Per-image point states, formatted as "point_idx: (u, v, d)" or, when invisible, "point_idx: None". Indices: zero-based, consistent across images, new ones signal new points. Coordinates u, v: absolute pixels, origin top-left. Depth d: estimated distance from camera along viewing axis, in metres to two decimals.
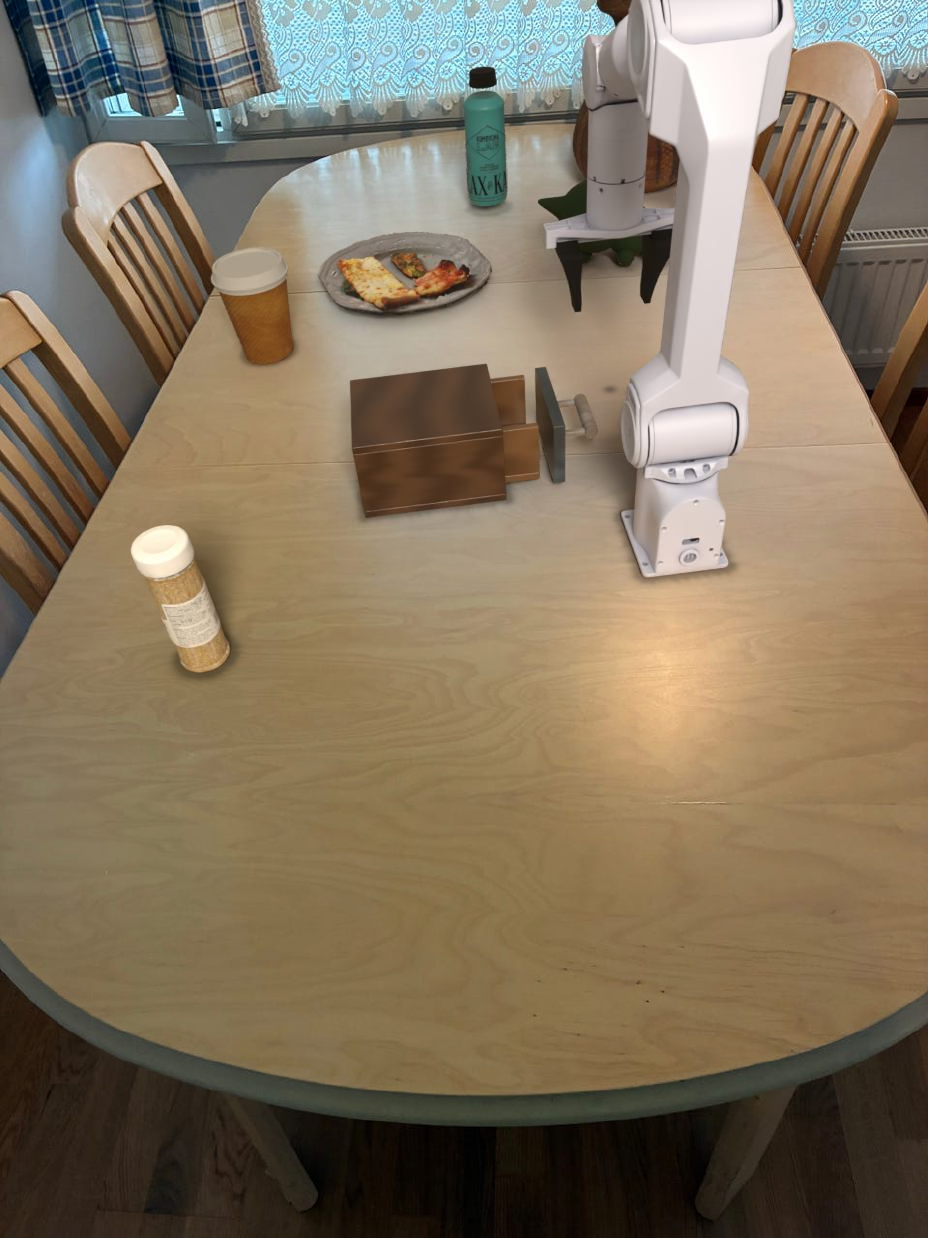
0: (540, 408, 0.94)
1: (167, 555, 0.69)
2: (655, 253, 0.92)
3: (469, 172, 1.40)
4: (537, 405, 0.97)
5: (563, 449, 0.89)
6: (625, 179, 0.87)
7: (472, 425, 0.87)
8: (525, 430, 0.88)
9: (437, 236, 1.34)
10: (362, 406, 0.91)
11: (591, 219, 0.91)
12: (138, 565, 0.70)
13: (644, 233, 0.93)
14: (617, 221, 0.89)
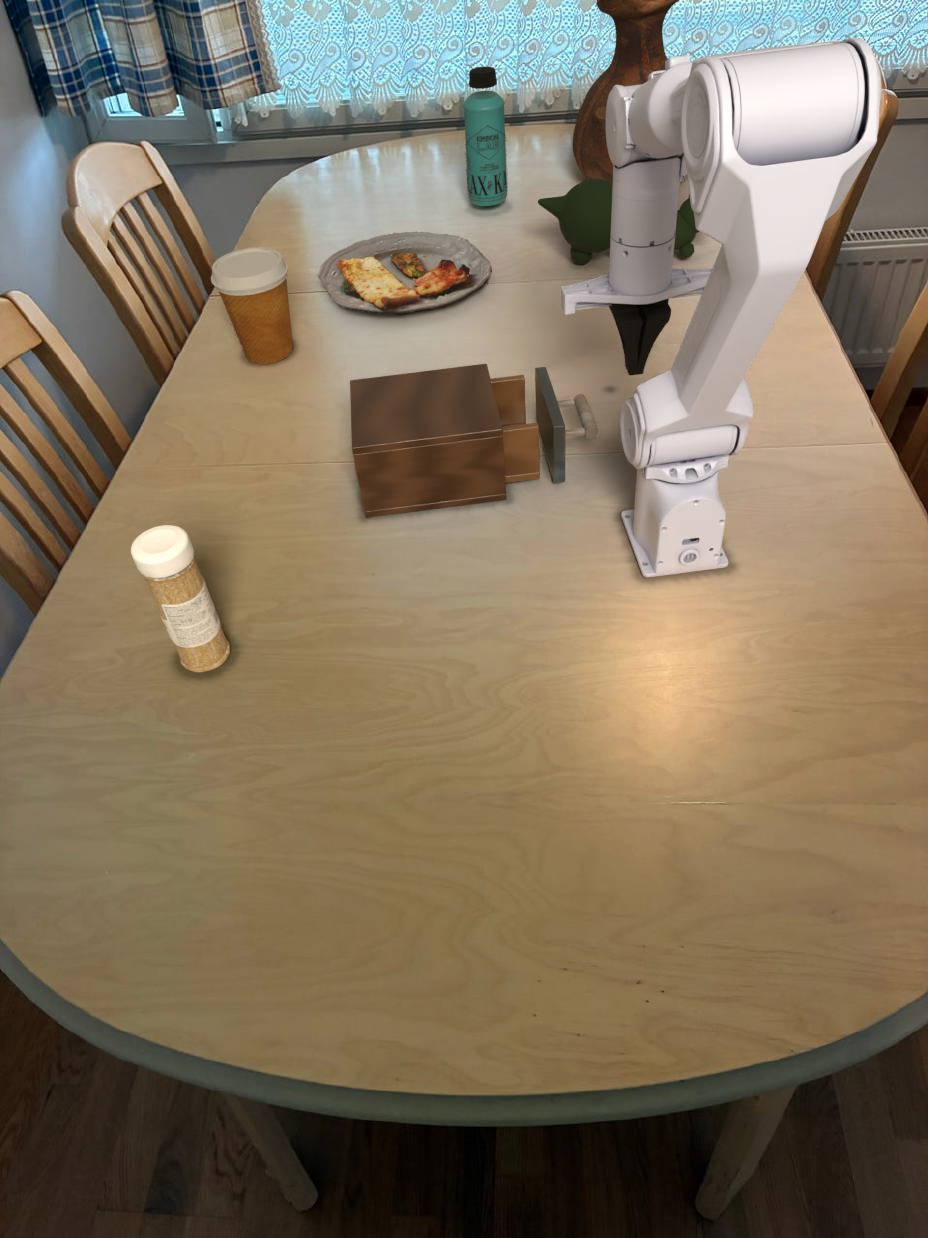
0: (540, 408, 0.94)
1: (167, 555, 0.69)
2: (648, 323, 0.84)
3: (469, 172, 1.40)
4: (537, 405, 0.97)
5: (563, 449, 0.89)
6: (654, 241, 0.78)
7: (472, 425, 0.87)
8: (525, 430, 0.88)
9: (437, 236, 1.34)
10: (362, 406, 0.91)
11: (614, 283, 0.82)
12: (138, 565, 0.70)
13: (672, 296, 0.84)
14: (644, 286, 0.81)
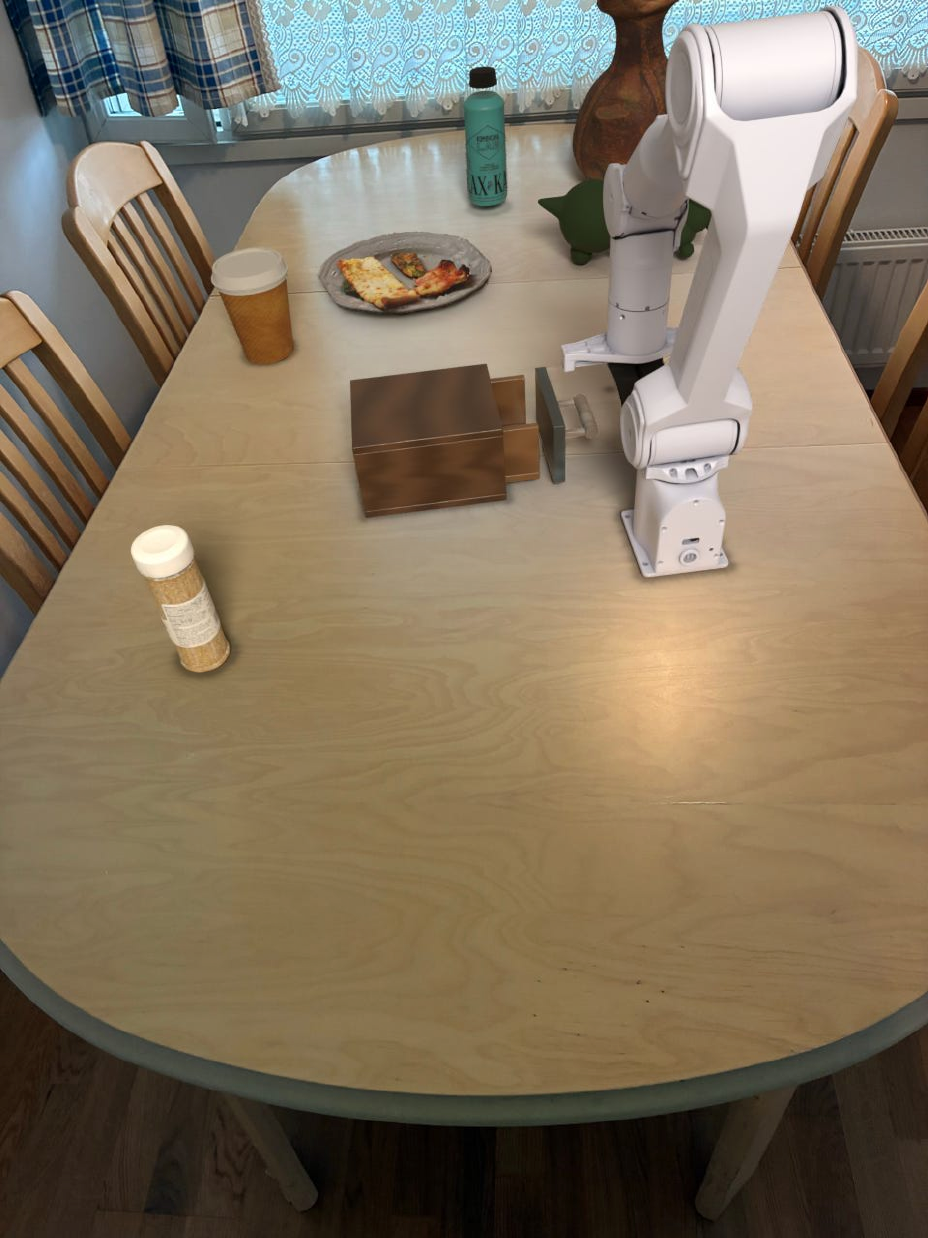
0: (540, 408, 0.94)
1: (167, 555, 0.69)
2: None
3: (469, 172, 1.40)
4: (537, 405, 0.97)
5: (563, 449, 0.89)
6: (649, 306, 0.82)
7: (472, 425, 0.87)
8: (525, 430, 0.88)
9: (437, 236, 1.34)
10: (362, 406, 0.91)
11: (612, 343, 0.86)
12: (138, 565, 0.70)
13: None
14: (640, 347, 0.85)
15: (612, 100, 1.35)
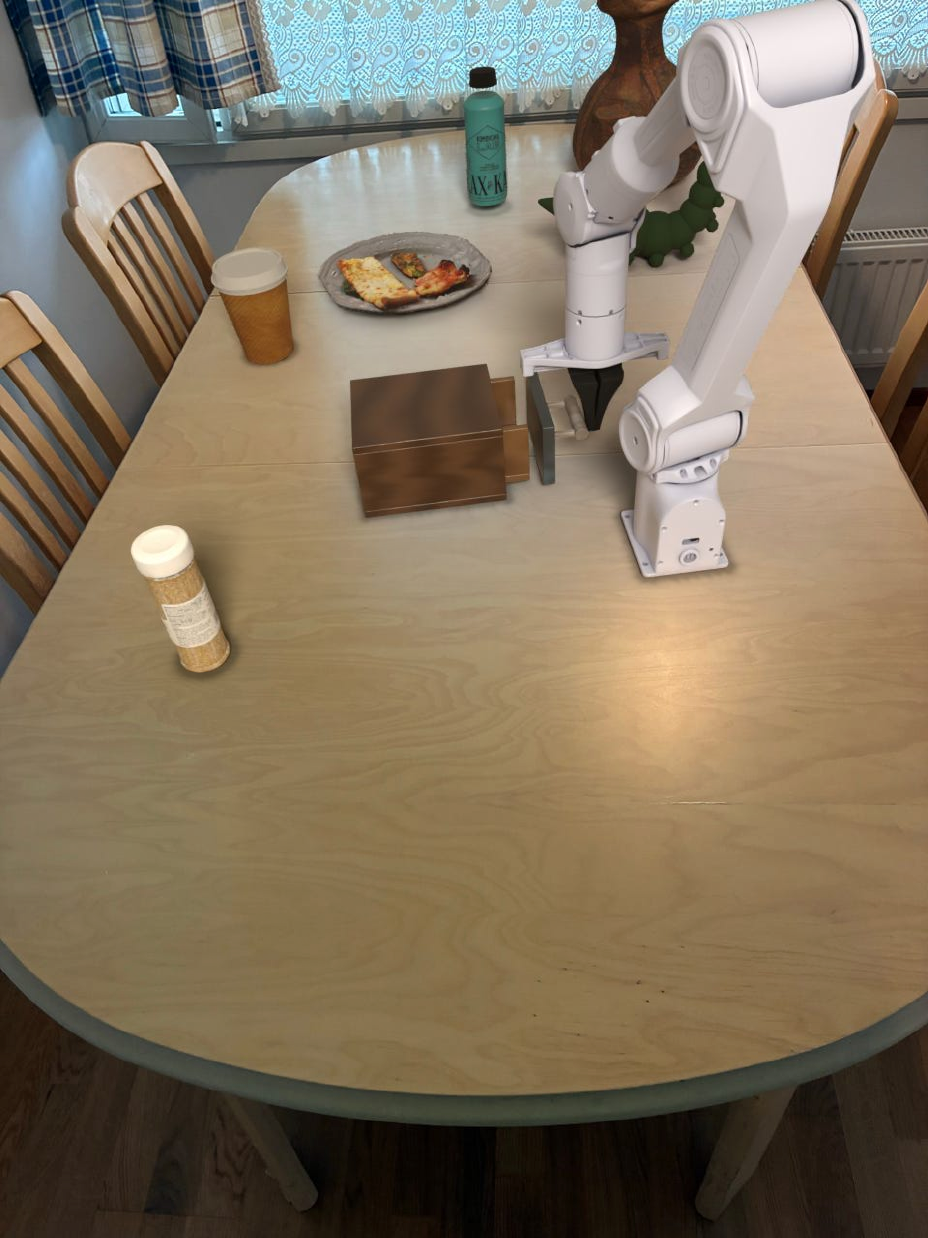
0: (530, 409, 0.94)
1: (167, 555, 0.69)
2: (602, 386, 0.88)
3: (469, 172, 1.40)
4: (527, 406, 0.97)
5: (552, 451, 0.89)
6: (613, 310, 0.82)
7: (472, 425, 0.87)
8: (514, 431, 0.88)
9: (437, 236, 1.34)
10: (362, 406, 0.91)
11: (570, 348, 0.86)
12: (138, 565, 0.70)
13: None
14: (597, 352, 0.85)
15: (612, 100, 1.35)
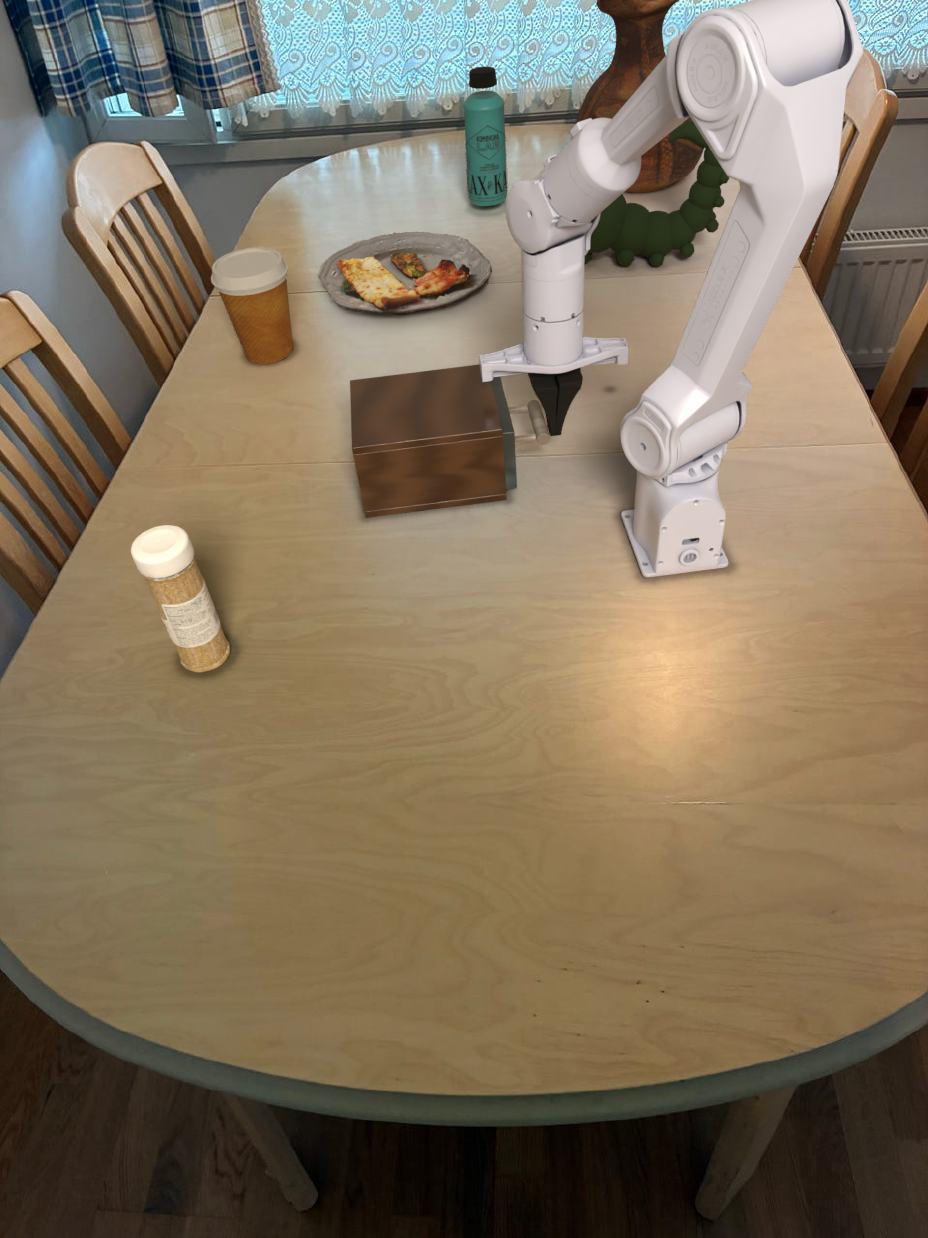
0: None
1: (167, 555, 0.69)
2: (560, 391, 0.88)
3: (469, 172, 1.40)
4: None
5: (513, 455, 0.89)
6: (574, 313, 0.82)
7: (472, 425, 0.87)
8: None
9: (437, 236, 1.34)
10: (362, 406, 0.91)
11: (528, 353, 0.86)
12: (138, 565, 0.70)
13: (585, 364, 0.89)
14: (555, 357, 0.85)
15: (612, 100, 1.35)
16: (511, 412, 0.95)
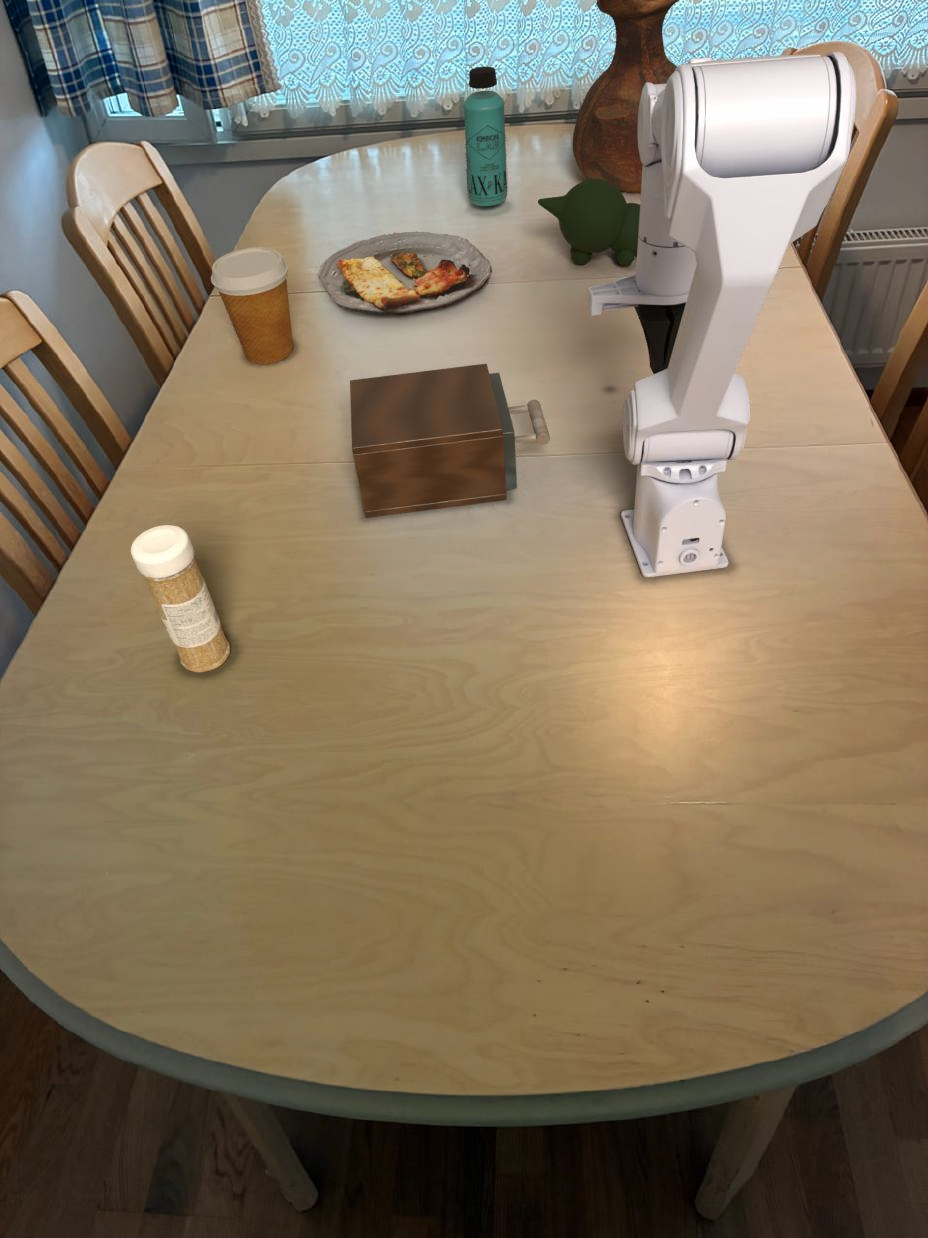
0: None
1: (167, 555, 0.69)
2: (675, 324, 0.83)
3: (469, 172, 1.40)
4: None
5: (513, 455, 0.89)
6: (678, 242, 0.78)
7: (472, 425, 0.87)
8: None
9: (437, 236, 1.34)
10: (362, 406, 0.91)
11: (642, 283, 0.82)
12: (138, 565, 0.70)
13: None
14: (672, 287, 0.80)
15: (612, 100, 1.35)
16: (511, 412, 0.95)
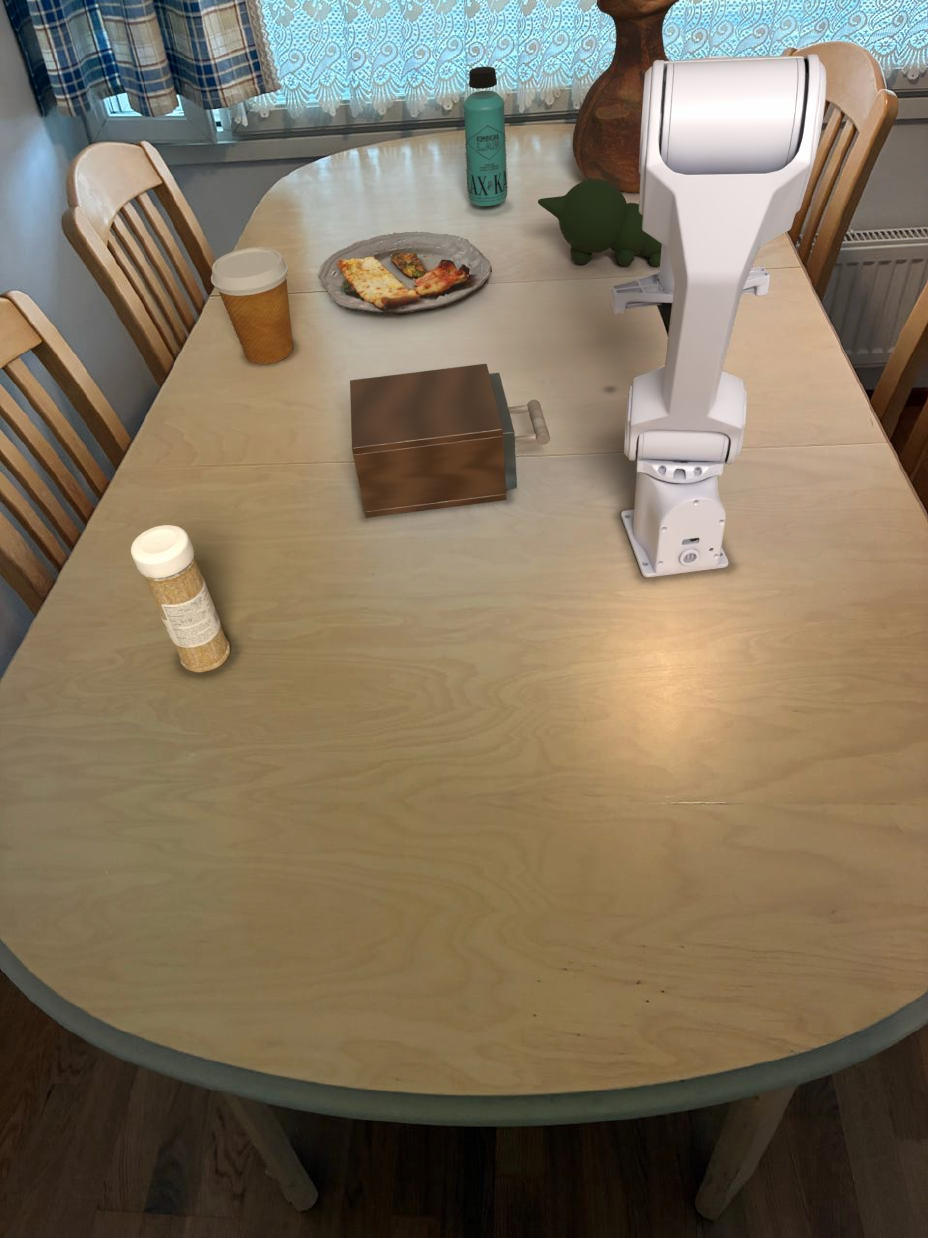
0: None
1: (167, 555, 0.69)
2: None
3: (469, 172, 1.40)
4: None
5: (513, 455, 0.89)
6: None
7: (472, 425, 0.87)
8: None
9: (437, 236, 1.34)
10: (362, 406, 0.91)
11: (665, 282, 0.81)
12: (138, 565, 0.70)
13: None
14: None
15: (612, 100, 1.35)
16: (511, 412, 0.95)
